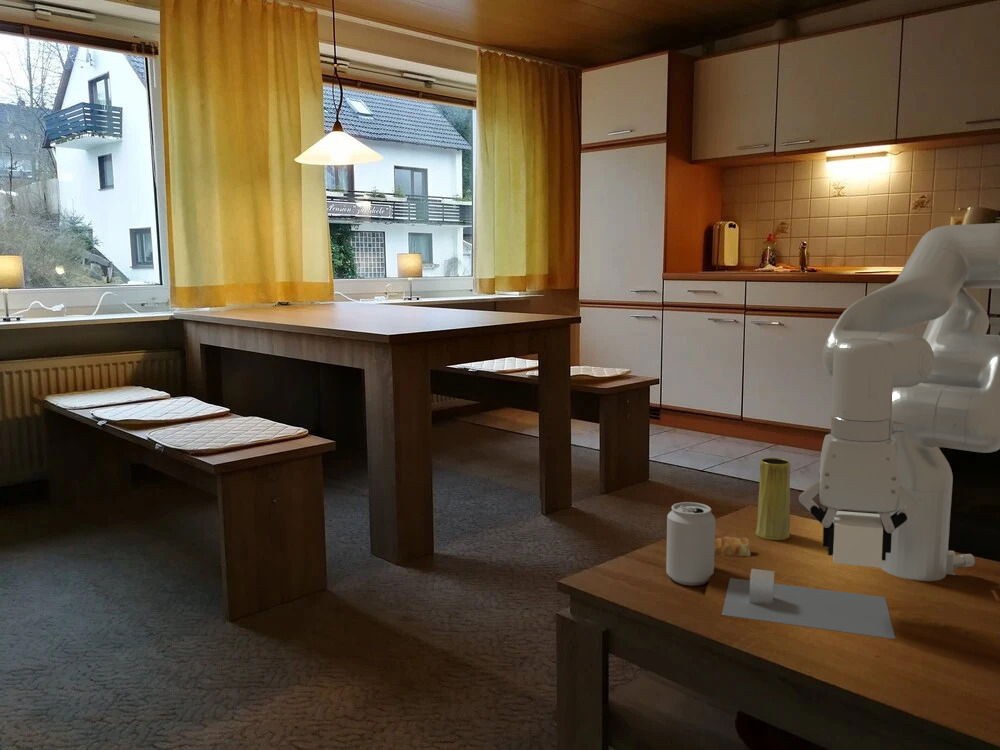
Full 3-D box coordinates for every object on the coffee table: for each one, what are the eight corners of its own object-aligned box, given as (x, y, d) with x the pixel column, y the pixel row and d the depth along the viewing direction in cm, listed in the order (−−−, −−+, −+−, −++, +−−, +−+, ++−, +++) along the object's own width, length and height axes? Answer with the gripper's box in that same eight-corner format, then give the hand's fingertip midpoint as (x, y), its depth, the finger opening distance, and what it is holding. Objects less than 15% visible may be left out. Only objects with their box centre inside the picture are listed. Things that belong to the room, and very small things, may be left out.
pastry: (695, 563, 135) (695, 541, 135) (694, 550, 142) (694, 529, 141) (752, 567, 133) (753, 545, 132) (749, 553, 139) (749, 532, 139)
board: (884, 606, 116) (885, 597, 116) (894, 649, 103) (895, 638, 103) (729, 587, 124) (729, 578, 124) (721, 624, 111) (721, 614, 111)
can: (715, 589, 124) (717, 515, 122) (666, 585, 125) (667, 512, 123) (712, 571, 131) (714, 501, 129) (666, 568, 132) (667, 498, 131)
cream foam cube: (877, 551, 113) (879, 514, 112) (881, 567, 107) (883, 528, 106) (831, 547, 115) (833, 510, 114) (833, 563, 109) (834, 524, 108)
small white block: (773, 597, 117) (774, 571, 116) (772, 605, 114) (773, 579, 113) (750, 594, 118) (751, 568, 117) (749, 602, 115) (750, 576, 114)
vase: (758, 540, 145) (760, 464, 143) (753, 529, 151) (755, 456, 149) (792, 541, 144) (795, 465, 142) (786, 530, 150) (789, 457, 148)
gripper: (927, 426, 108) (921, 551, 111) (793, 420, 115) (790, 539, 117) (936, 438, 102) (928, 571, 104) (793, 432, 108) (790, 557, 110)
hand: (855, 553), depth 111 cm, fingers closed on cream foam cube, 5 cm apart
